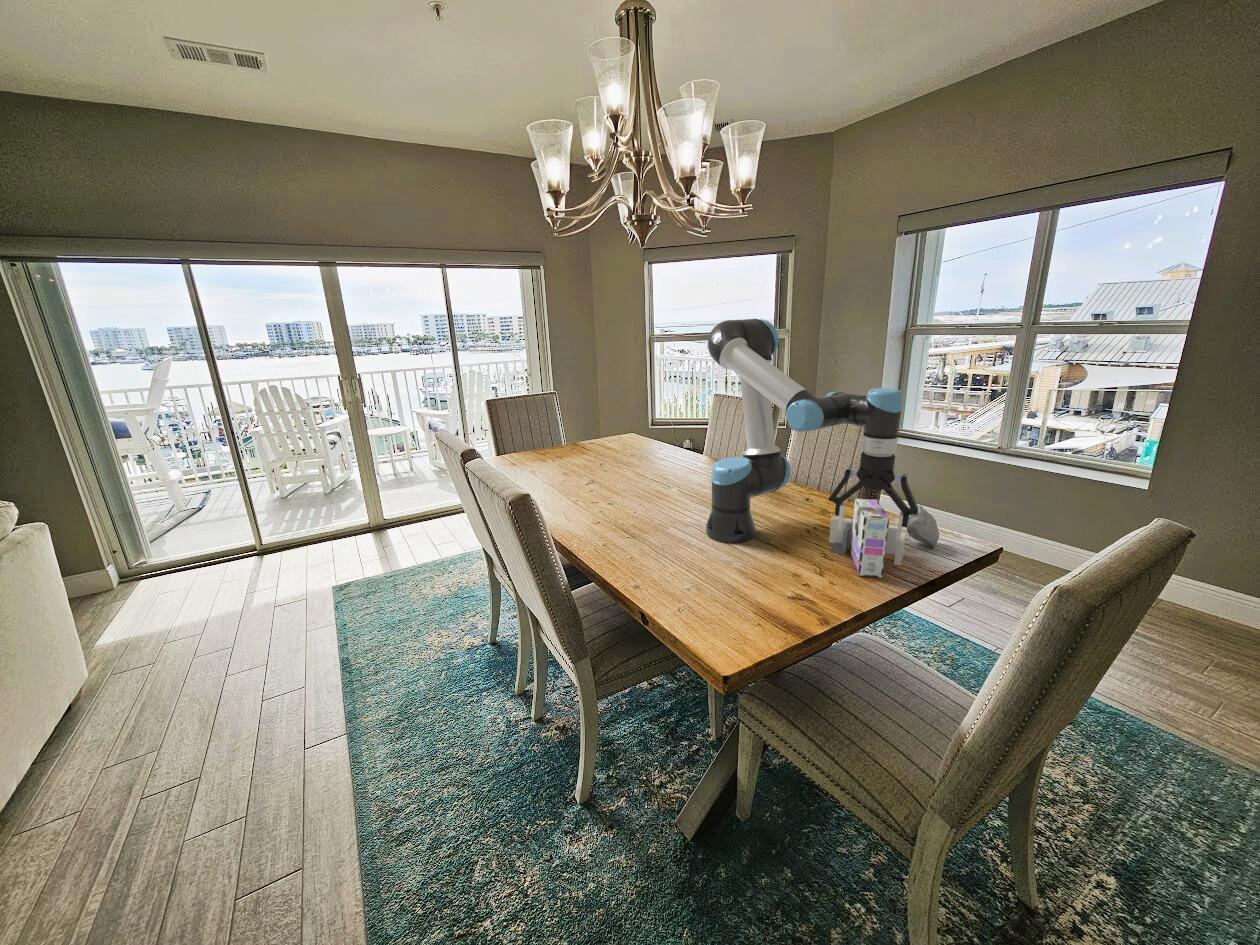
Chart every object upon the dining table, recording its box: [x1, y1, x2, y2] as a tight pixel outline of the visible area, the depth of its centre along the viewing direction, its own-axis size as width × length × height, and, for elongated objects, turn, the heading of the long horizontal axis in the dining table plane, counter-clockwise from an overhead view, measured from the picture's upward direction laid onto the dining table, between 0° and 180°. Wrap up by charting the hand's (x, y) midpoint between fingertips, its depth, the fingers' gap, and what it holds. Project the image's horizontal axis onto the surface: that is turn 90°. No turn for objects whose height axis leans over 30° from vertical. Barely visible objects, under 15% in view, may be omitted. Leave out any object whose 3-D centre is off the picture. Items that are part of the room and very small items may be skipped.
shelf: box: [828, 515, 907, 566], centre depth 133 cm, size 19×8×8 cm, turn 57°
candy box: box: [849, 498, 890, 578], centre depth 125 cm, size 14×6×16 cm, turn 165°
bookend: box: [829, 523, 851, 555], centre depth 135 cm, size 4×6×7 cm, turn 147°
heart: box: [905, 504, 940, 548], centre depth 134 cm, size 10×10×12 cm
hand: (868, 532), depth 123 cm, fingers open, 13 cm apart
